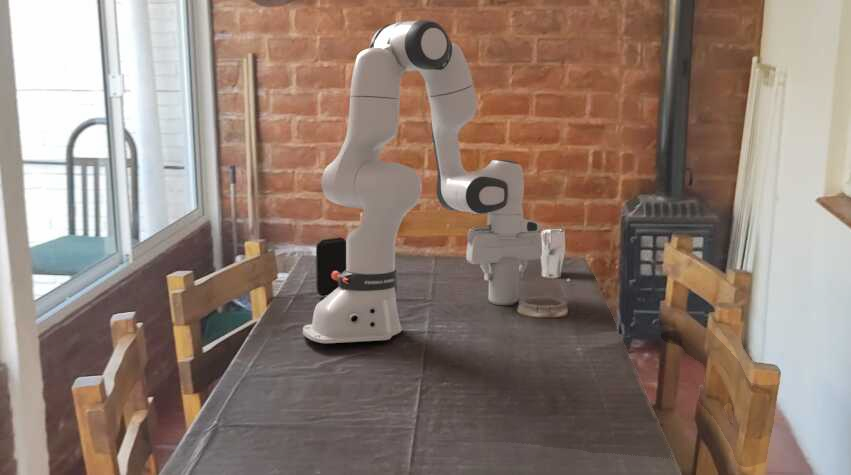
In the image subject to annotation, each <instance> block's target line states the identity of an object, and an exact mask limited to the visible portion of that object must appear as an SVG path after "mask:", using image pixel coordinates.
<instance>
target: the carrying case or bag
mask: <svg viewBox="0 0 851 475" xmlns="http://www.w3.org/2000/svg"><path fill="white" fill-rule="evenodd" d="M315 248H316V249H315V257H316V259H315V262H316V264H315V266H316V269H315V271H316V273H315V274H316V278H315V280H316V281H315V282H316V283H315V284H316V293H317V294H318V295H319V296H321V297H326V296H325V295H327V296H328V294H330V293H332V292H333V291H334V290H335V289H336V288H338V287H339V286H338V281H336V280H334V279H332V277H333V276H331V275H332V273H333V271H338V272H340V273H342V272H344V271H345V270H346V239H344V238H343V237H334V238H326V239H321V240H319V241H318V242H317V243H316V247H315Z"/></svg>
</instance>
